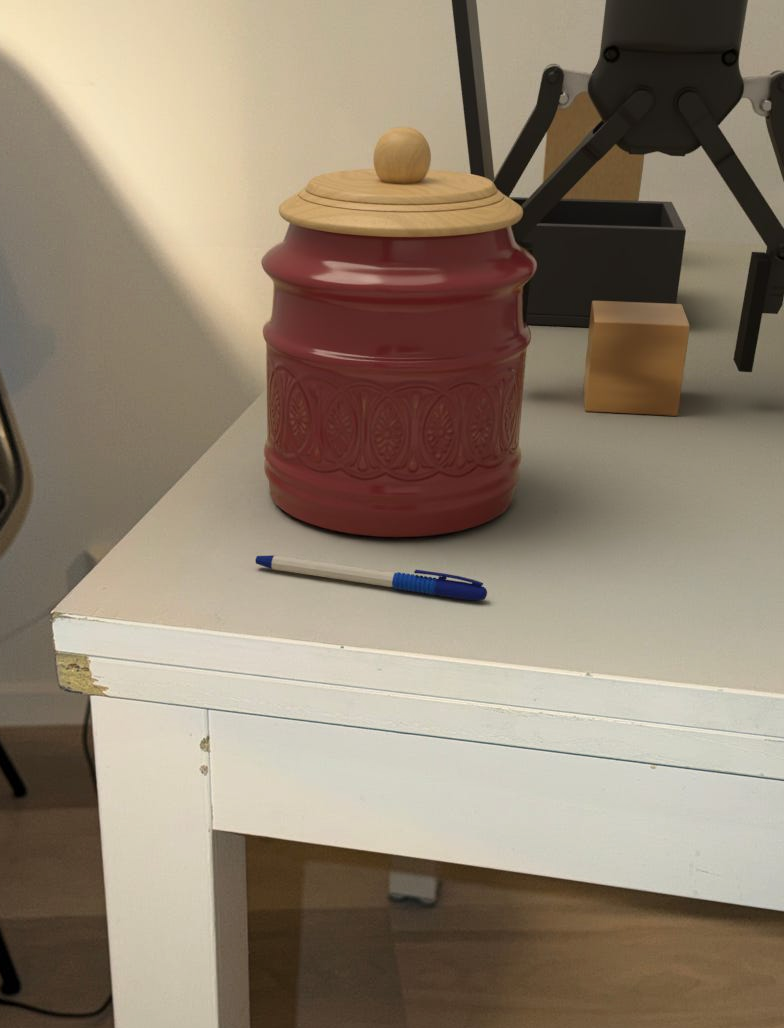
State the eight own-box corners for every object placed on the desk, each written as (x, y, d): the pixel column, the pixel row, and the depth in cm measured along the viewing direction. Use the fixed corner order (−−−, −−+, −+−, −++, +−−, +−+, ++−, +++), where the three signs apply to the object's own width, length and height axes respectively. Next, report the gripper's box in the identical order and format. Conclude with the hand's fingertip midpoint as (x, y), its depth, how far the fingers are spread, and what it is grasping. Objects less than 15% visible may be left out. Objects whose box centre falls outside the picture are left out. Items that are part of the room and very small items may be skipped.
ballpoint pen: (488, 596, 56) (490, 575, 56) (484, 604, 56) (485, 583, 55) (259, 564, 59) (258, 544, 59) (252, 572, 58) (251, 552, 58)
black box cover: (474, -21, 100) (461, -18, 100) (464, -19, 89) (449, -16, 89) (495, 188, 106) (483, 190, 107) (488, 214, 95) (475, 216, 96)
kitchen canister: (247, 459, 72) (240, 114, 64) (474, 445, 74) (496, 110, 66) (287, 552, 60) (285, 148, 52) (554, 533, 62) (592, 141, 54)
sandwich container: (625, 236, 130) (643, 73, 123) (632, 268, 117) (653, 86, 110) (538, 233, 132) (551, 71, 125) (535, 264, 118) (550, 85, 111)
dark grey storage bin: (660, 293, 108) (672, 201, 105) (672, 331, 97) (686, 229, 94) (483, 286, 110) (488, 196, 107) (475, 322, 99) (481, 223, 96)
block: (670, 390, 84) (682, 303, 81) (677, 416, 79) (690, 325, 76) (583, 386, 84) (591, 300, 82) (584, 411, 80) (594, 321, 77)
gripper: (443, -34, 69) (420, 362, 79) (941, -24, 66) (852, 389, 75) (453, -33, 76) (430, 332, 85) (905, -25, 72) (828, 355, 82)
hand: (628, 359), depth 80 cm, fingers open, 13 cm apart
